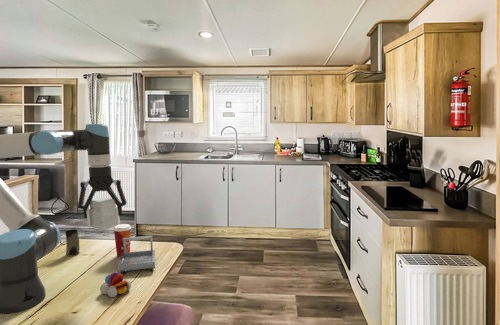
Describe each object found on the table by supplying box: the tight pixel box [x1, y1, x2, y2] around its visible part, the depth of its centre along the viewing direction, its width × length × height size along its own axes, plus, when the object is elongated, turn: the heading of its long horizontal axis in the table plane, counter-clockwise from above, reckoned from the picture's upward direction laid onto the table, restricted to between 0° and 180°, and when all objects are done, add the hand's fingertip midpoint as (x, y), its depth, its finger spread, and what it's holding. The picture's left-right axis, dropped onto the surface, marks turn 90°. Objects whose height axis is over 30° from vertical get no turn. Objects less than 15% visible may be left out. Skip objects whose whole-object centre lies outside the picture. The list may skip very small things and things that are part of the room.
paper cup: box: [112, 223, 132, 259], centre depth 154 cm, size 8×8×14 cm
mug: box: [59, 228, 80, 257], centre depth 156 cm, size 8×6×12 cm
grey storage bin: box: [117, 235, 156, 275], centre depth 143 cm, size 14×14×10 cm
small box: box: [89, 196, 117, 231], centre depth 127 cm, size 8×6×10 cm
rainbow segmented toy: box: [99, 271, 132, 298], centre depth 121 cm, size 8×10×7 cm
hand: (104, 225), depth 127 cm, fingers closed on small box, 9 cm apart
